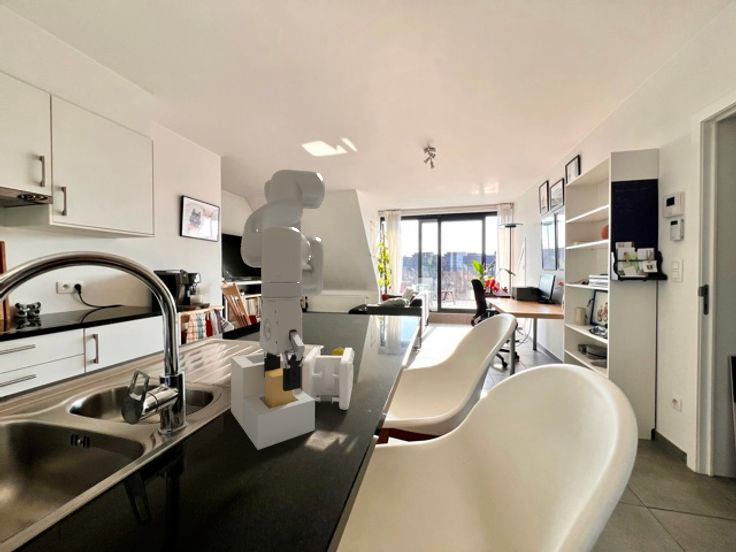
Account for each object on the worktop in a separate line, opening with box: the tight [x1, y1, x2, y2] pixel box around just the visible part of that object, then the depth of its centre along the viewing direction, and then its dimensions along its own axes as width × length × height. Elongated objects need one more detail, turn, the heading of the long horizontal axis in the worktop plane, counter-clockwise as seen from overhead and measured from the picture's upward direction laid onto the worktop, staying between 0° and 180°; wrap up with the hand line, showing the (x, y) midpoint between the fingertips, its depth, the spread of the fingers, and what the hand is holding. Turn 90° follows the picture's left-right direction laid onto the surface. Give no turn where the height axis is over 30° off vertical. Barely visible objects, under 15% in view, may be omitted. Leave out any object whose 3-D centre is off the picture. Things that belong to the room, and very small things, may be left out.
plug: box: [265, 368, 293, 409], centre depth 60 cm, size 4×4×8 cm
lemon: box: [330, 346, 345, 356], centre depth 93 cm, size 6×6×8 cm
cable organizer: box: [301, 346, 355, 411], centre depth 74 cm, size 15×11×12 cm
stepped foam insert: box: [230, 351, 316, 451], centre depth 64 cm, size 18×11×12 cm, turn 38°
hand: (281, 382), depth 58 cm, fingers open, 8 cm apart
